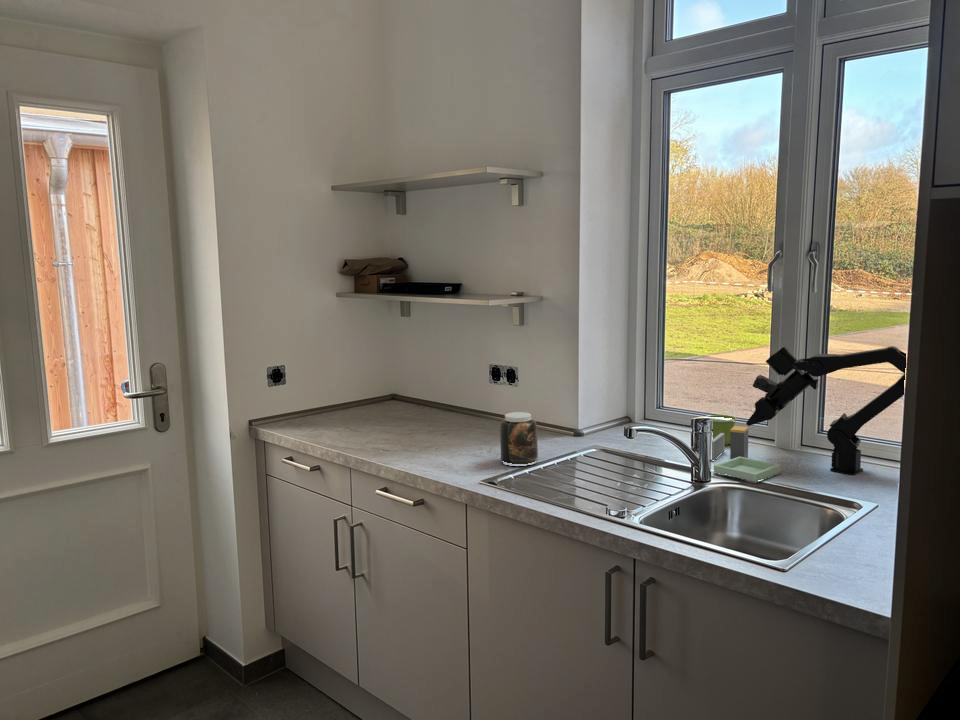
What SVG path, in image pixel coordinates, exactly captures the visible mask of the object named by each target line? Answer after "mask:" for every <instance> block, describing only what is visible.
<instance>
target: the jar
mask: <svg viewBox="0 0 960 720" xmlns="http://www.w3.org/2000/svg"><path fill="white" fill-rule="evenodd" d="M499 425H500V426H499V433H500V434H499V441H500V444H499V445H500V461H501V460H502V461H504V462H507V463H512V464H528V463H532V462H535V461H537V460H538V461H539V447H538V427H537V426H538V425H537V421H536V420H535V419H533V418H532V414H531V413H530V412H525V411H514V412H513V411H512V412H508V413H506V414H504V419H503V420H502V421H501V422H500V424H499Z"/></svg>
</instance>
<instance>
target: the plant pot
mask: <svg viewBox="0 0 960 720" xmlns="http://www.w3.org/2000/svg"><path fill="white" fill-rule="evenodd" d="M707 417H724V418H732V419H734V420H735V422H733V421H713V439H714V438H715V437H716V436H718V435H719V434H720V433H725V445H726V446H729V444H730V429H732V428H733V427H734V426H735V424H736V421H737V417H736V416H733V415H727V414H712V415H708V416H707Z"/></svg>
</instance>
